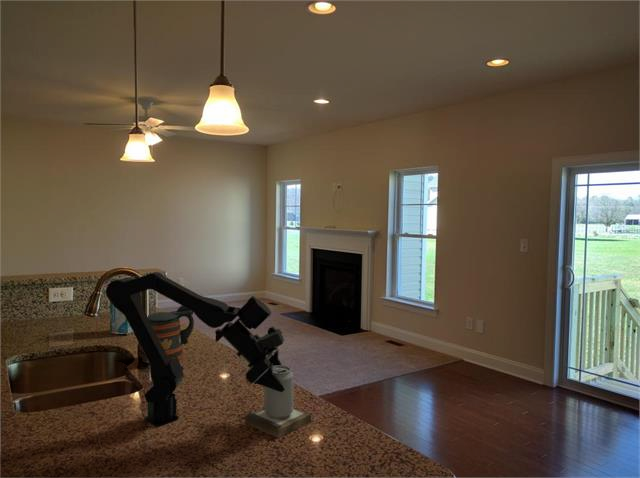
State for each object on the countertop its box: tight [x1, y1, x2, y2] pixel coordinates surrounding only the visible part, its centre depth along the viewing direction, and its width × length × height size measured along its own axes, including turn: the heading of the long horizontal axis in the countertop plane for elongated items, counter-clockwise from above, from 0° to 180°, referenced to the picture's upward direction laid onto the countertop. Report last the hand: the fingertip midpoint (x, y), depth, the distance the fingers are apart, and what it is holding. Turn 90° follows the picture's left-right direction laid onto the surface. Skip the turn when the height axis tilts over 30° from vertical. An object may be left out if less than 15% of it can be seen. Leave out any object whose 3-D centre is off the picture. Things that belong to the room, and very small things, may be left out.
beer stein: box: [147, 305, 195, 361], centre depth 173 cm, size 19×15×20 cm
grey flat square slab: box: [244, 407, 312, 439], centre depth 120 cm, size 12×12×3 cm
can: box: [264, 364, 295, 419], centre depth 121 cm, size 8×8×12 cm
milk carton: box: [109, 275, 134, 333], centre depth 209 cm, size 9×9×25 cm
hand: (285, 384), depth 120 cm, fingers open, 9 cm apart
